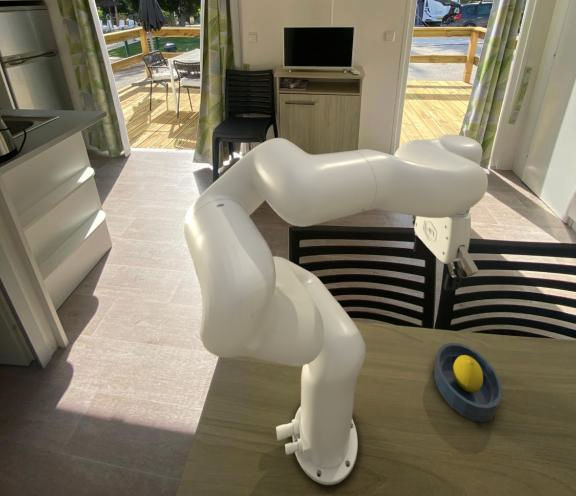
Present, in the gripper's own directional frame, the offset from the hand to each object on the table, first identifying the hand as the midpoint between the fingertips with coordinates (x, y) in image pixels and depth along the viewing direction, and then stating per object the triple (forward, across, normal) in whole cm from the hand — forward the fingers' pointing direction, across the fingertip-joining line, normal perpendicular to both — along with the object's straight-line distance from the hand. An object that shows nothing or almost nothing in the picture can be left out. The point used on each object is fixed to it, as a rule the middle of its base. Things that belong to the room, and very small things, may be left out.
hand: (434, 268), depth 62 cm
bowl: (+28, +7, +7) cm, 30 cm away
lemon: (+28, +7, +7) cm, 30 cm away
